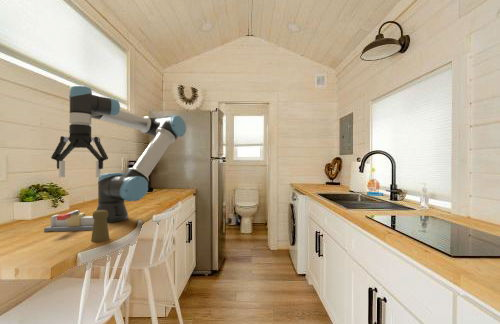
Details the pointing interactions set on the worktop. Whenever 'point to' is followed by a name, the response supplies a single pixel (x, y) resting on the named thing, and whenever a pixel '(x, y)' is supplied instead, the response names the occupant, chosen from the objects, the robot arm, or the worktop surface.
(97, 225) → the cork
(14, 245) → the worktop surface
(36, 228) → the worktop surface
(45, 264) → the worktop surface
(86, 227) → the valve board
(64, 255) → the worktop surface
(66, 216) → the lever
